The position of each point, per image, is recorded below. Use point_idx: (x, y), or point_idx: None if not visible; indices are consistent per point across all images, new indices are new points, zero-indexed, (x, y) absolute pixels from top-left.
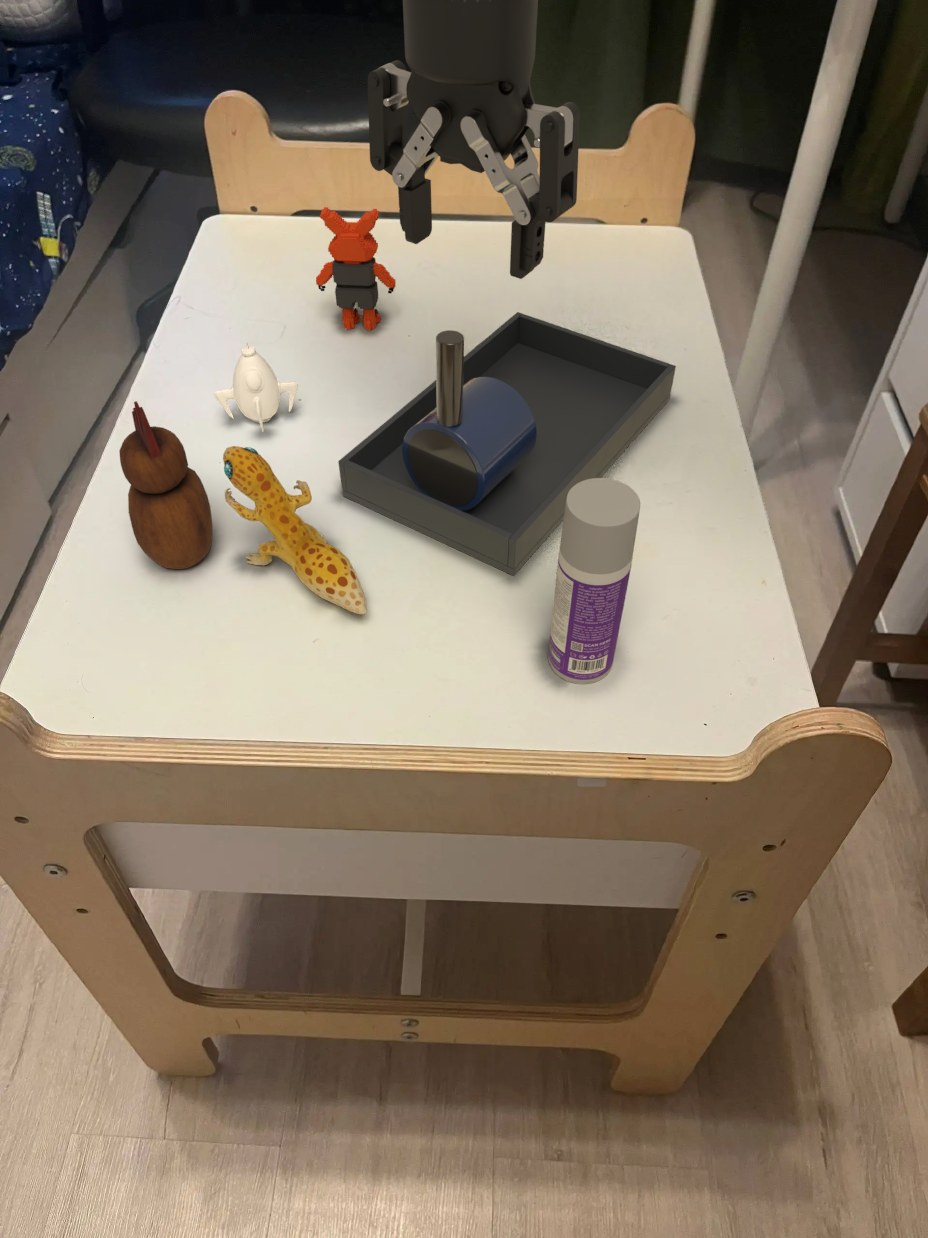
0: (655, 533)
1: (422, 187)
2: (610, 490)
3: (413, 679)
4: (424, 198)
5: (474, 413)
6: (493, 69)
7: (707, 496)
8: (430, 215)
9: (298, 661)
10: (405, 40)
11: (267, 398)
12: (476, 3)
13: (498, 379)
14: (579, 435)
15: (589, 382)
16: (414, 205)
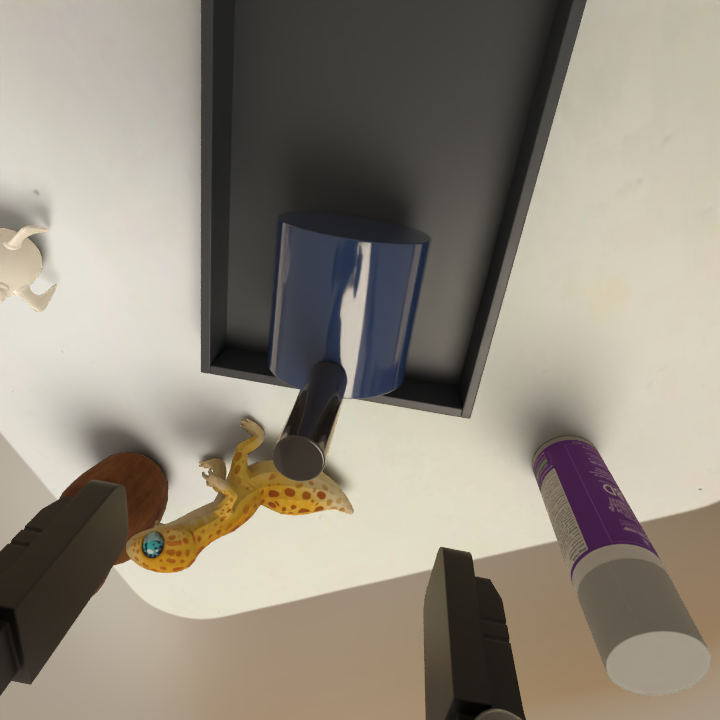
0: (623, 254)
1: (29, 634)
2: (665, 647)
3: (421, 524)
4: (55, 592)
5: (353, 345)
6: None
7: (699, 138)
8: (93, 518)
9: (320, 537)
10: None
11: (23, 280)
12: None
13: None
14: (467, 93)
15: None
16: (63, 627)
